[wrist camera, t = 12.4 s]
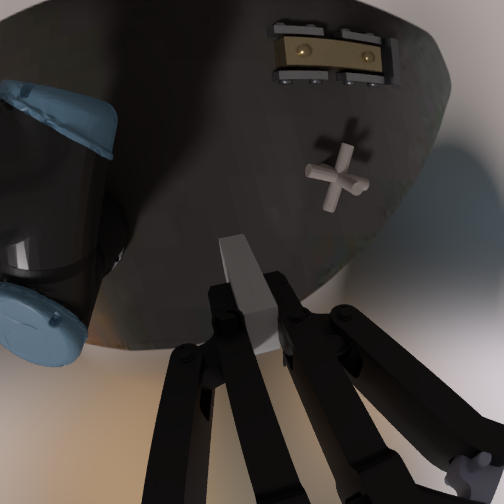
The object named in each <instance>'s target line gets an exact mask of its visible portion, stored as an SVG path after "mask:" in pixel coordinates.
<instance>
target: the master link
mask: <svg viewBox="0 0 504 504" xmlns="http://www.w3.org/2000/svg"><path fill="white" fill-rule="evenodd" d="M274 52H275V61H276V68H322V69H338V70H350V71H359V72H382V62H381V50H380V47H376V46H371V45H365V44H359V43H353V42H346V41H338V40H330V39H320V38H307V37H286V36H284V37H282V38H280V39H278V40H277V41H275V42H274Z"/></svg>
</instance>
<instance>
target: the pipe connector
mask: <svg viewBox="0 0 504 504" xmlns="http://www.w3.org/2000/svg"><path fill="white" fill-rule="evenodd" d="M353 149H354V146H351V145H348V144H345V143H342V144H341V148H340V151H339V155H338V158H337V162H336V165H335V168H332V167H330V166H329V165H327V164H324V163H322V164H320V165H319V166H317V165H313V164H308V165H307V166H306V169H305V175H306V177H311V178H315V179H320V180H324V181H328V182H330V185H329V189H328V192H327V195H326V198H325V202H324V205H323V209H324V210H326V211H328V212H334V211H335V208H336V205H337V202H338V199H339V196H340V193H341V189H342V188H344V189H346V190H347V191H349V192H350V193H352V194H353V195H360V194H361V193H362V191H363V190H367V189H368V187H369V180H368V179H366V178H362V177H359V176H355V175H352V174H348V173H347V170H348V167H349V163H350V160H351V156H352V153H353Z"/></svg>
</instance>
